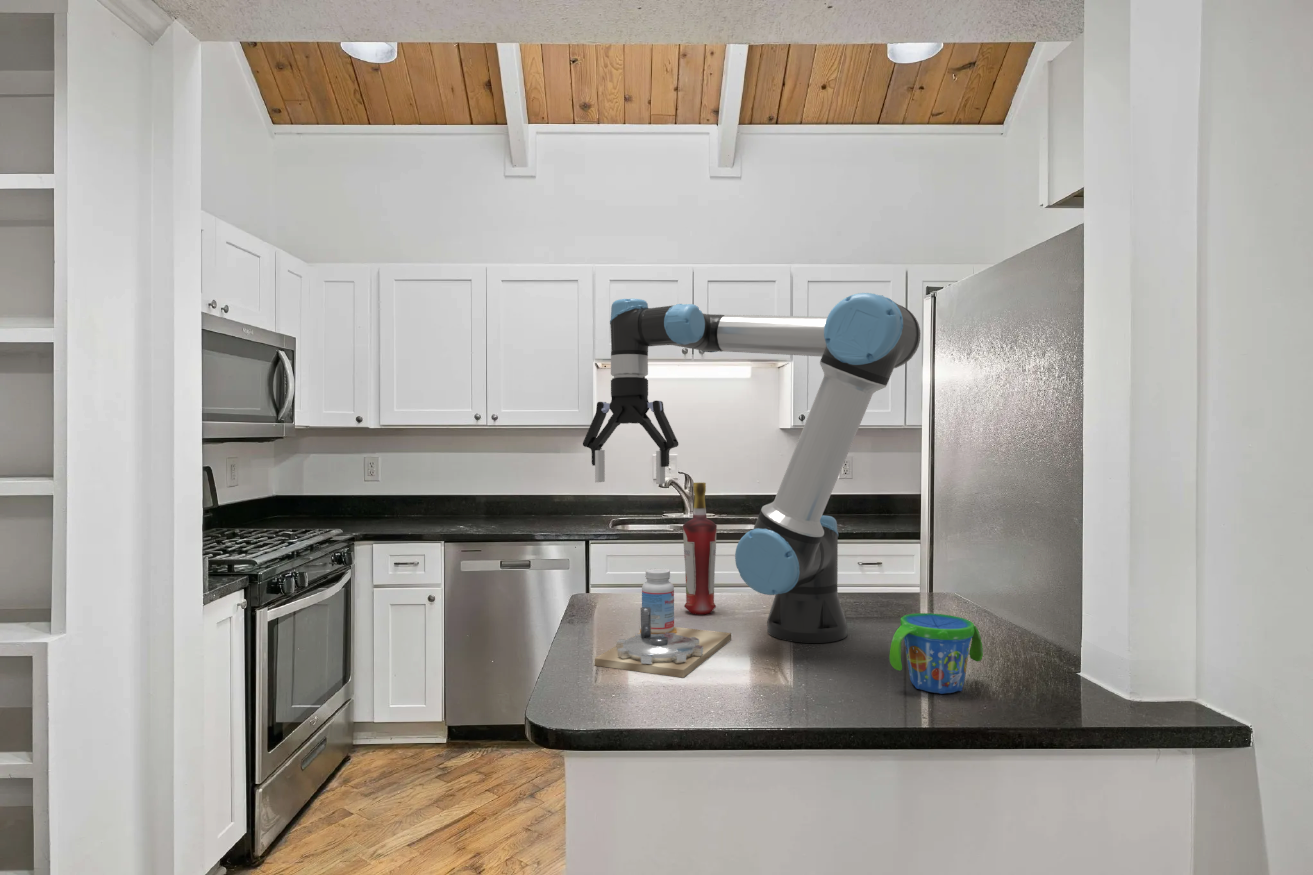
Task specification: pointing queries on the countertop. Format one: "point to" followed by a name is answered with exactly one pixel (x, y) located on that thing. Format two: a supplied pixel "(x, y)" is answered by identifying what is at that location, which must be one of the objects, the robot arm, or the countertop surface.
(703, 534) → the liquor
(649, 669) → the board
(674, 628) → the seat pad
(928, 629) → the snack cup
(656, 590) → the pill bottle
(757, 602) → the countertop surface
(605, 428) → the robot arm
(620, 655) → the sprocket disc
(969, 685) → the countertop surface
